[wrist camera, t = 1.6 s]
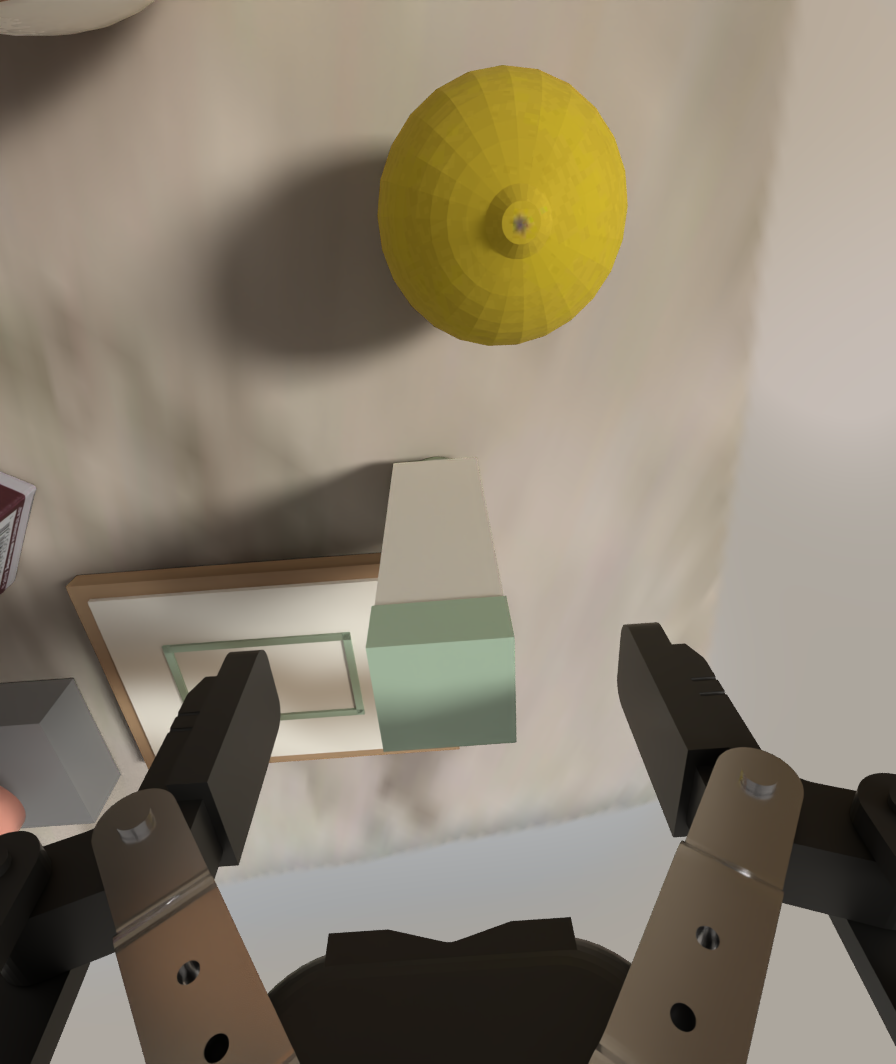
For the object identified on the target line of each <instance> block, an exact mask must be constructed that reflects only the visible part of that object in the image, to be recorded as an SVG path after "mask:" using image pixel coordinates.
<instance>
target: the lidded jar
mask: <svg viewBox="0 0 896 1064" xmlns="http://www.w3.org/2000/svg"><path fill="white" fill-rule="evenodd" d="M154 1H155V0H0V34H6V35H13V36H57V35H68V34H76V33H81V32H85V31H90V30H95V29H100V28H105V27H108V26H110V25H113V24H115V23H117V22H119V21H121V20H124V19H126V18H128V17H130V16H132V15H135V14H137V13H139V12H140V11H142V10H143V9H144V8H146V7H147V6H148V5H150V4H151V3H152V2H154Z"/></svg>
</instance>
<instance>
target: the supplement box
mask: <svg viewBox="0 0 896 1064" xmlns="http://www.w3.org/2000/svg"><path fill="white" fill-rule="evenodd" d="M35 492H36V487H35V486H34V485H33V484H30V483H28V482H25V481H23V480H20V479H18V478H15V477H13V476H10V475H8V474H6V473H3V472H1V471H0V594H1V593H2V592H4V590H5V589H6V588H7V587H9V586H10V585H11V584H12V583H13V582H14V581H15V577H16V572H17V568H18V563H19V559H20V555H21V551H22V546H23V542H24V538H25V533H26V529H27V524H28V521H29V517H30V513H31V509H32V504H33V500H34V495H35Z"/></svg>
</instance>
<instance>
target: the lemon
mask: <svg viewBox="0 0 896 1064" xmlns="http://www.w3.org/2000/svg"><path fill="white" fill-rule="evenodd" d="M627 206H628V205H627V191H626V177H625V169H624V166H623V163H622V160H621V157H620V153H619V150H618V147H617V144H616V141H615V138H614V136H613V134H612V133H611V131H610V130H609V128H608V127H607V125H606V123H605V122H604V120H603V119H602V117H601V115H600V114H599V112H598V111H597V109H596V108H595V107H594V106H593V105H592V104H591V103H590V102H589V101H588V100H587V99H586V98H584V97H583V96H582V95H581V94H580V93H579V92H578V91H577V90H576V89H575V88H573V87H572V86H571V85H570V84H569V83H567V82H565V81H562V80H560V79H558V78H556V77H554V76H551V75H549V74H547V73H545V72H543V71H541V70H538V69H532V68H523V67H514V66H505V65H501V66H496V67H491V68H485V69H480V70H475V71H470V72H467V73H465V74H464V75H462V76H460V77H458V78H456V79H454V80H452V81H451V82H449V83H447V84H445V85H443V86H441V87H440V88H438V89H436V90H435V91H434V92H433V93H432V94H431V95H430V96H429V97H428V98H427V99H426V100H425V101H424V102H423V103H422V104H421V105H420V106H419V107H418V108H417V109H416V110H415V111H414V112H413V113H412V114H410V116H409V118H408V119H407V121H406V123H405V124H404V126H403V127H402V129H401V131H400V132H399V134H398V136H397V137H396V139H395V141H394V142H393V144H392V145H391V148H390V151H389V155H388V158H387V161H386V164H385V167H384V170H383V173H382V176H381V180H380V190H379V202H378V215H377V216H378V224H379V231H380V238H381V245H382V251H383V253H384V256H385V259H386V261H387V264H388V266H389V269H390V272H391V274H392V277H393V280H394V281H395V283H396V284H397V286H398V287H399V289H400V290H401V292H402V293H403V294H404V296H405V297H406V299H407V300H408V302H409V303H410V305H411V306H412V307H413V308H414V309H415V310H417V311H418V312H419V313H420V314H421V315H422V316H423V317H424V318H425V319H427V320H428V321H429V322H430V323H431V324H432V325H433V326H434V327H436V328H438V329H440V330H442V331H444V332H446V333H448V334H450V335H452V336H454V337H456V338H458V339H460V340H464V341H469V342H473V343H478V344H483V345H488V346H493V345H515V344H520V343H523V342H526V341H530V340H533V339H536V338H540V337H543V336H546V335H547V334H549V333H551V332H552V331H554V330H555V329H557V328H559V327H560V326H562V325H564V324H565V323H567V322H569V321H570V320H572V319H573V318H574V317H575V316H576V315H577V314H578V313H579V312H580V311H581V310H582V309H583V308H584V307H585V306H586V305H587V304H588V303H589V302H590V301H591V300H592V299H593V298H594V296H595V295H596V293H597V292H598V290H599V289H600V287H601V286H602V284H603V283H604V281H605V280H606V278H607V276H608V275H609V273H610V272H611V269H612V267H613V264H614V261H615V259H616V256H617V254H618V251H619V248H620V246H621V243H622V240H623V233H624V227H625V220H626V213H627Z"/></svg>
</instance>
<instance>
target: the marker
mask: <svg viewBox="0 0 896 1064" xmlns="http://www.w3.org/2000/svg"><path fill="white" fill-rule="evenodd" d="M366 653H367V659H368V665H369V671H370V676H371V682H372V688H373V694H374V699H375V705H376V711H377V717H378V723H379V728H380V734H381V740H382V746H383V751H384V752H390V751H404V750H418V749H432V748H445V747H459V746H473V745H487V744H501V743H515V742H516V693H515V640H514V633H513V628H512V623H511V618H510V613H509V608H508V603H507V598H506V596H503V591H502V586H501V581H500V575H499V570H498V565H497V560H496V555H495V550H494V545H493V539H492V534H491V529H490V524H489V519H488V514H487V508H486V503H485V498H484V493H483V488H482V483H481V477H480V472H479V467H478V462H477V457H470V458H457V459H449V458H445V457H431V458H427V459H424V460H422V461H417V462H404V463H393V471H392V478H391V486H390V493H389V501H388V508H387V516H386V523H385V531H384V538H383V546H382V553H381V560H380V568H379V575H378V583H377V590H376V598H375V605H374V606H371V613H370V620H369V628H368V635H367V642H366Z"/></svg>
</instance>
